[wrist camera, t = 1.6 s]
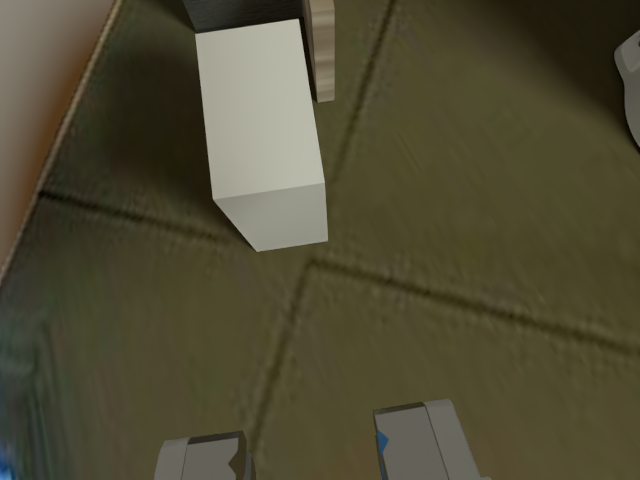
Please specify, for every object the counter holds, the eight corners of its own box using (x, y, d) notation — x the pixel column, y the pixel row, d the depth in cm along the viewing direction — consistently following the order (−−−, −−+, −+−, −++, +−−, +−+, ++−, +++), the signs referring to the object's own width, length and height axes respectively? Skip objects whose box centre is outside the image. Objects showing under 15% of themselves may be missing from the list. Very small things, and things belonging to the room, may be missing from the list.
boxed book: (328, 240, 41) (324, 182, 26) (256, 251, 41) (213, 199, 26) (310, 129, 43) (298, 17, 28) (242, 140, 43) (195, 33, 28)
